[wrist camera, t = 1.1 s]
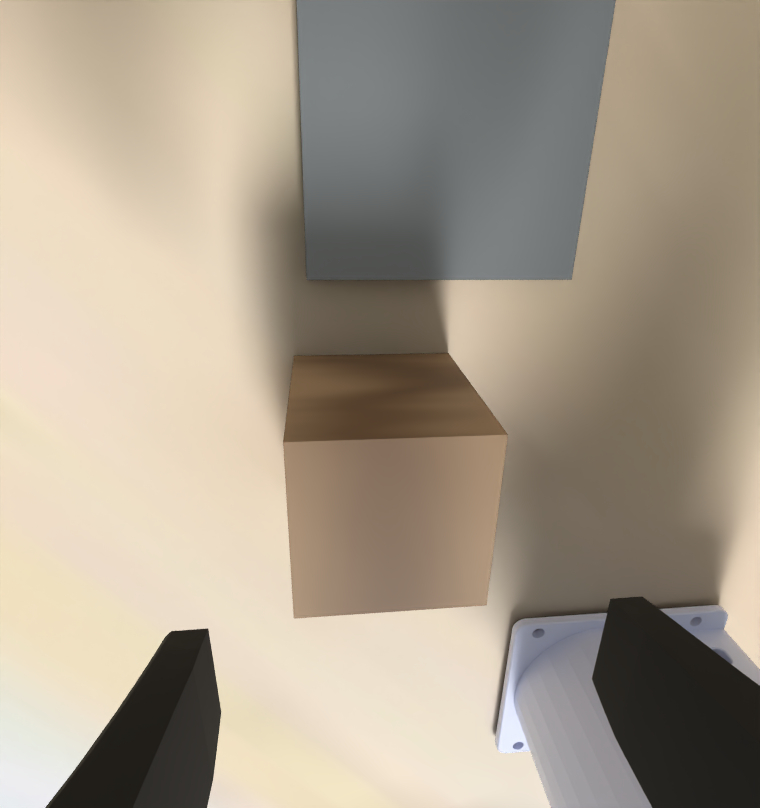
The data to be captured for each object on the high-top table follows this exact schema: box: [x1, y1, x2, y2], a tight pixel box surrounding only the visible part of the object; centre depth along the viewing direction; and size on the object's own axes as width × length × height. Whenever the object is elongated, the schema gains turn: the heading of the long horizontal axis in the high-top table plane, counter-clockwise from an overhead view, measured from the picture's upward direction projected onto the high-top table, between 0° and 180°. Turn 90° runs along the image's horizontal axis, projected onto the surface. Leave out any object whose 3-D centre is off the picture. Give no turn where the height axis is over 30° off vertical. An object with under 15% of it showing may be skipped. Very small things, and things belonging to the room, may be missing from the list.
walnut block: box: [283, 353, 508, 618], centre depth 15 cm, size 5×5×6 cm
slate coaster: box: [297, 0, 616, 280], centre depth 15 cm, size 8×8×1 cm
